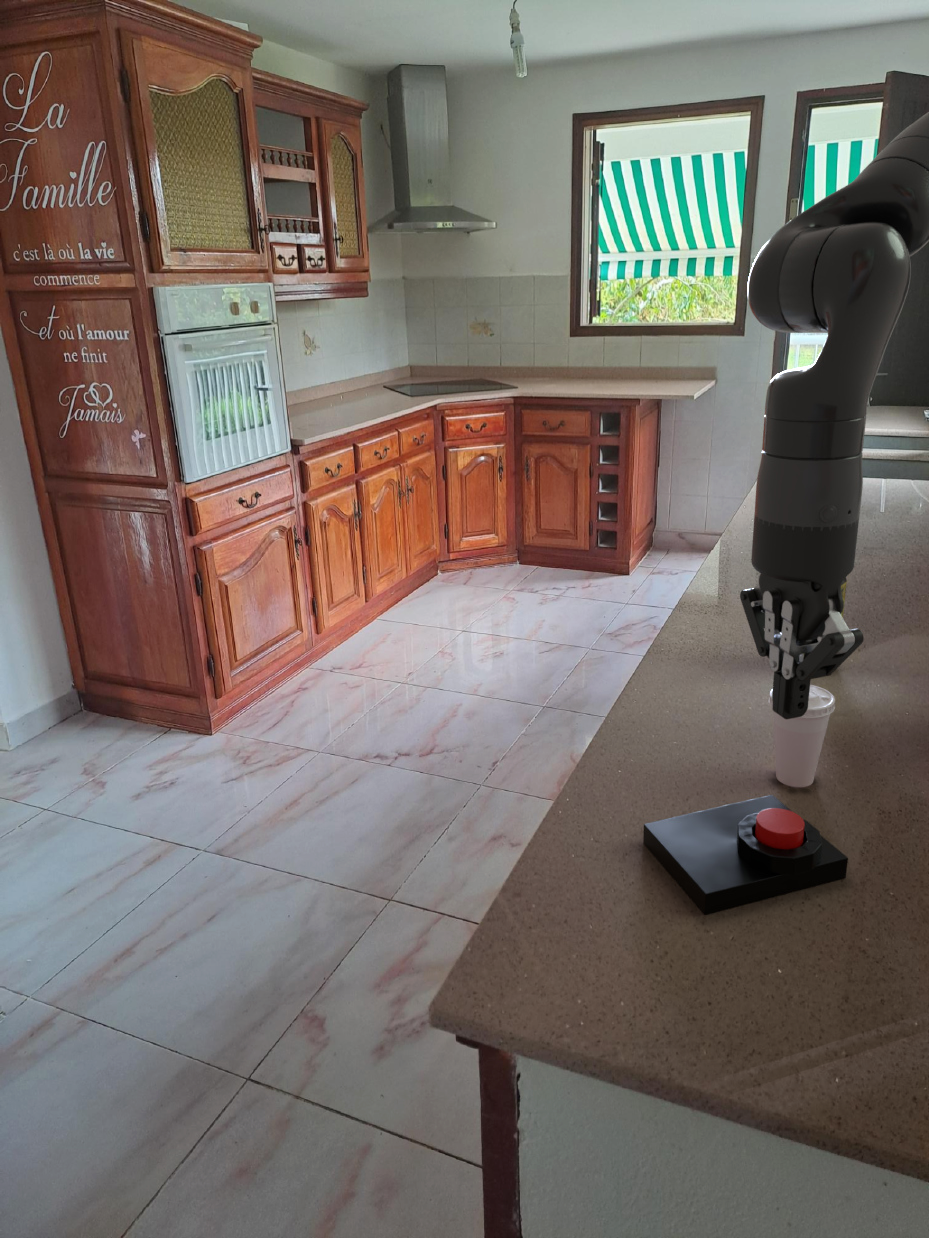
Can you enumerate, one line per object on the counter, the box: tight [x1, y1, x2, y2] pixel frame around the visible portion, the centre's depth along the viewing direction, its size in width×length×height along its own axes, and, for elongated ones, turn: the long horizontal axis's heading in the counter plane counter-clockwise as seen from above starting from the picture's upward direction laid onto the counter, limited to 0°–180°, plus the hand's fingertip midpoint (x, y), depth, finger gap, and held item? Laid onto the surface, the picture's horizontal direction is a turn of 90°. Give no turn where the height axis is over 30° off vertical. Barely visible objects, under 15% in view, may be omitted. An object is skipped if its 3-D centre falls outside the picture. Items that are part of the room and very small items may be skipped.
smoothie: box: [767, 684, 836, 788], centre depth 91 cm, size 6×6×14 cm
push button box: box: [642, 794, 849, 916], centre depth 80 cm, size 14×12×4 cm
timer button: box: [755, 808, 805, 850], centre depth 77 cm, size 4×4×2 cm
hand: (788, 713), depth 73 cm, fingers closed
